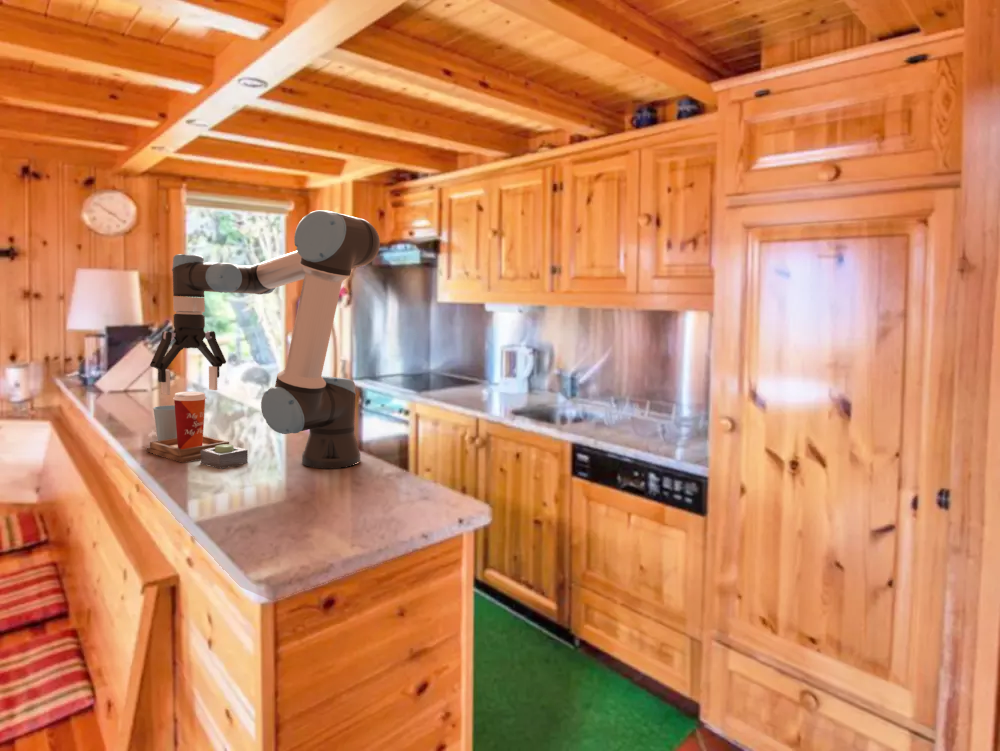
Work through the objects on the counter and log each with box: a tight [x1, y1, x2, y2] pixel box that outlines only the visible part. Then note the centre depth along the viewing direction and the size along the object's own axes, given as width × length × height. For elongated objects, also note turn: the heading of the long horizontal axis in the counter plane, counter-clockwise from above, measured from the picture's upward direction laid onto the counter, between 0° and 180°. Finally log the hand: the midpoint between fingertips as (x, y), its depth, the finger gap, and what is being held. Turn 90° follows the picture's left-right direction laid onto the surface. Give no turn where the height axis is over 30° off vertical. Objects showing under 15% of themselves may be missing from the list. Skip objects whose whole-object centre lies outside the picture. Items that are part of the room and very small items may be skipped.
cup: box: [152, 404, 177, 441], centre depth 183 cm, size 8×8×10 cm
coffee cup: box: [172, 391, 207, 449], centre depth 173 cm, size 8×8×15 cm
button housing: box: [200, 445, 249, 470], centre depth 164 cm, size 8×8×4 cm
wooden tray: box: [146, 434, 230, 464], centre depth 174 cm, size 17×15×3 cm
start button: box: [215, 443, 234, 453], centre depth 164 cm, size 4×4×4 cm
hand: (190, 392), depth 172 cm, fingers open, 13 cm apart
